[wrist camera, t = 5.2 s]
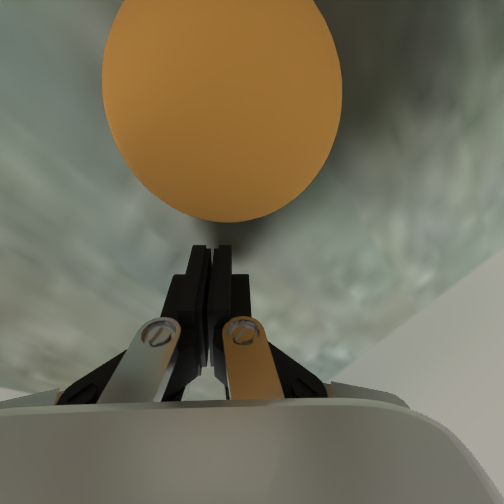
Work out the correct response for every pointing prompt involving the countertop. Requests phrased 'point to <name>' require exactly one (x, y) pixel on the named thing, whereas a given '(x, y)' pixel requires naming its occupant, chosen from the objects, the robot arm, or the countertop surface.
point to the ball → (222, 101)
